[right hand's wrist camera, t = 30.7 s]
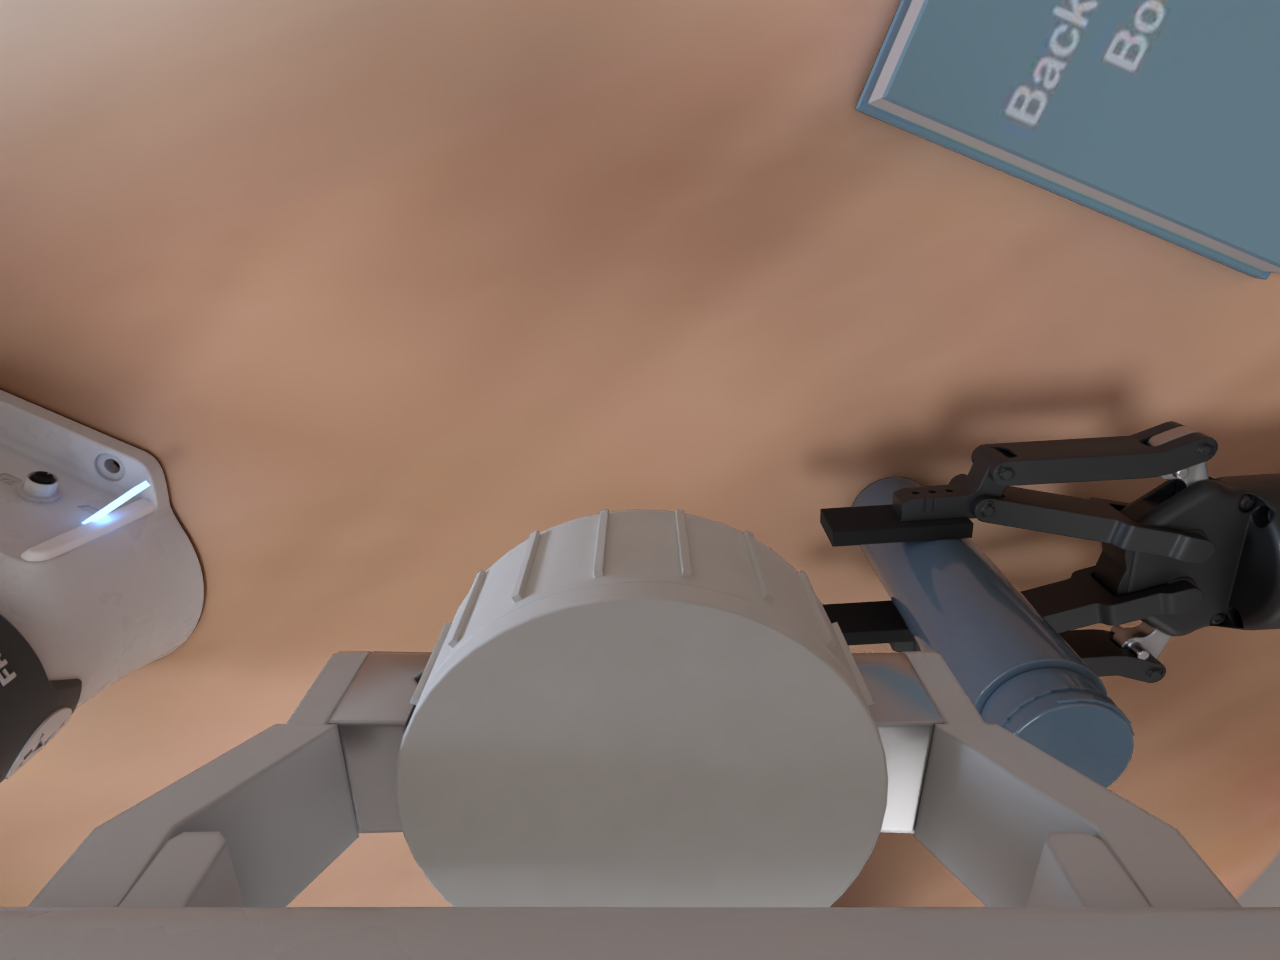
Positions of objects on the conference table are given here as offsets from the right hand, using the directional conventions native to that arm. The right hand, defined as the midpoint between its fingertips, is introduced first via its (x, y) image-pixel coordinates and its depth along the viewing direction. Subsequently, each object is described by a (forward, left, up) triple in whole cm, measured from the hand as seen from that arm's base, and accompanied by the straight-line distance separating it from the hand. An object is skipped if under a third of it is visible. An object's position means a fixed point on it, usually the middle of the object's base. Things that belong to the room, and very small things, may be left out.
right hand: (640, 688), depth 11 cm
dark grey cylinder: (+18, 0, -30) cm, 35 cm away
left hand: (+14, -3, -23) cm, 28 cm away
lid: (0, 0, +2) cm, 2 cm away
